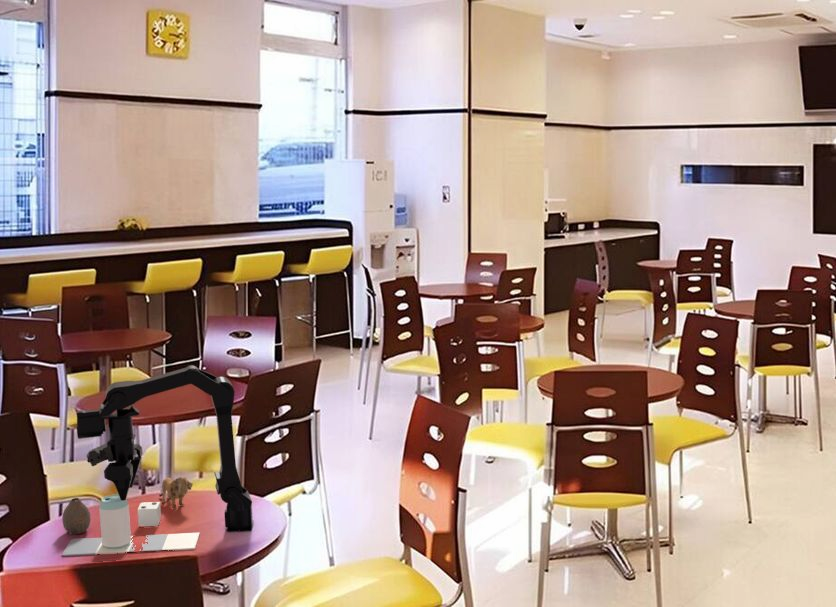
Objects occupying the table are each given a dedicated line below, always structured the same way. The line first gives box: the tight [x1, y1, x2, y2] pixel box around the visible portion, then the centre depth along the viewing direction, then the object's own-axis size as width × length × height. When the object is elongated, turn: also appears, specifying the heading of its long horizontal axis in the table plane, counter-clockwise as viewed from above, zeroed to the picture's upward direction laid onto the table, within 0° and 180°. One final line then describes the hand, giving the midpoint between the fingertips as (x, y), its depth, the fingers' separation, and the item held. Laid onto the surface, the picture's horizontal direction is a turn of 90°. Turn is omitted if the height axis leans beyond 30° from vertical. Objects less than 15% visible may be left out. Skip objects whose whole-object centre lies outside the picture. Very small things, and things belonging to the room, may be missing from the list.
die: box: [137, 501, 162, 527], centre depth 272 cm, size 5×5×5 cm
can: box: [98, 494, 132, 548], centre depth 257 cm, size 7×7×12 cm
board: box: [61, 532, 201, 557], centre depth 258 cm, size 32×10×1 cm, turn 95°
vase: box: [61, 497, 91, 536], centre depth 267 cm, size 7×7×9 cm
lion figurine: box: [158, 476, 194, 510], centre depth 286 cm, size 15×5×9 cm, turn 46°
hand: (126, 493), depth 259 cm, fingers open, 9 cm apart
